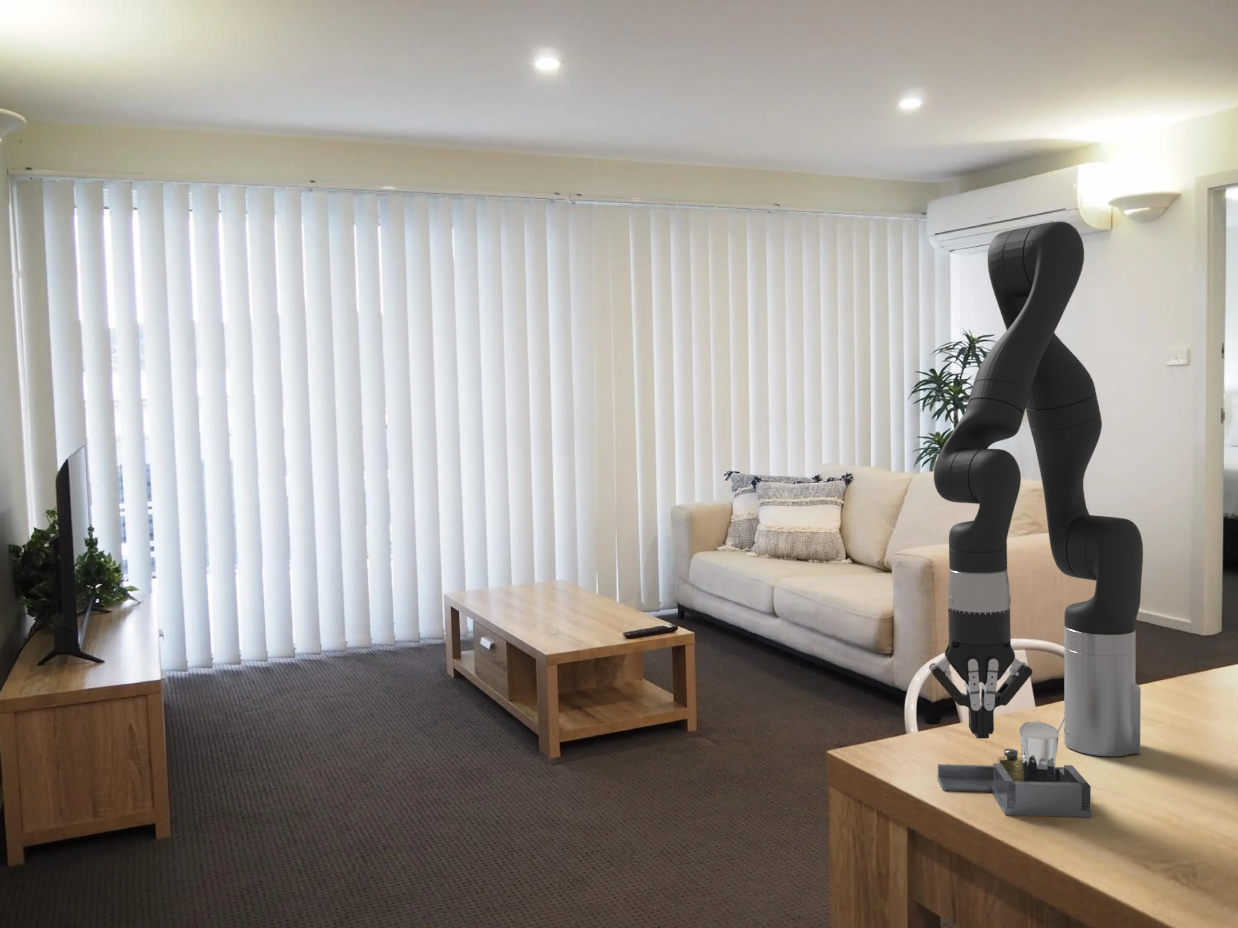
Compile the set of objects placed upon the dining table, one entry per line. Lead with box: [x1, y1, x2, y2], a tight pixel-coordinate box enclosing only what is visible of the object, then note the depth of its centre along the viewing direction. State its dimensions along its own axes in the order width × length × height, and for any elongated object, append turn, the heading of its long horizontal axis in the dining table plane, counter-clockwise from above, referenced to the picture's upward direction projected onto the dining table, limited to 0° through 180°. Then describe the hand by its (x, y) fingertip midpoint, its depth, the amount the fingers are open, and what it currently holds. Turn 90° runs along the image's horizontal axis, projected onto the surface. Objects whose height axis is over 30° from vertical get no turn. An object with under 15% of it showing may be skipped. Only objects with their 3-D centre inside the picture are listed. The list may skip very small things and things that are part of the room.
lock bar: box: [997, 748, 1024, 782], centre depth 134 cm, size 6×2×4 cm, turn 82°
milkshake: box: [1018, 716, 1066, 782], centre depth 129 cm, size 4×5×10 cm
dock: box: [937, 763, 1093, 818], centre depth 131 cm, size 16×12×4 cm
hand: (981, 736), depth 134 cm, fingers closed
